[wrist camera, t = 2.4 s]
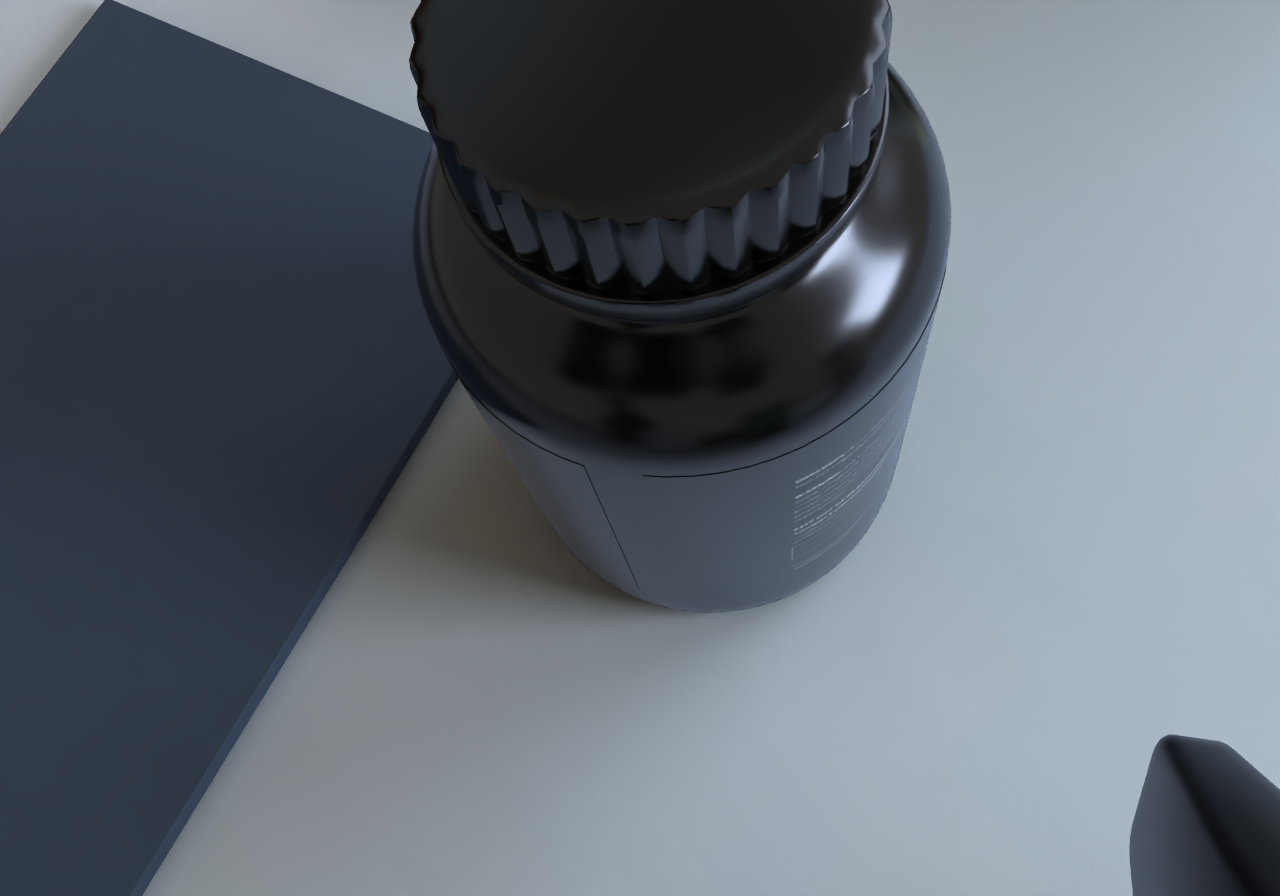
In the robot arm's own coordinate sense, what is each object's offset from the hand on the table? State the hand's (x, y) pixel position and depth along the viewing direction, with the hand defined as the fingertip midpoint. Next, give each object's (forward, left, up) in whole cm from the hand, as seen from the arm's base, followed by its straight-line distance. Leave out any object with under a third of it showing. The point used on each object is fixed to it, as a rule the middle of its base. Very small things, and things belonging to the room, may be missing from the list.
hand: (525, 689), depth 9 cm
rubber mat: (0, +13, -13) cm, 18 cm away
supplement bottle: (+6, +2, -13) cm, 14 cm away
